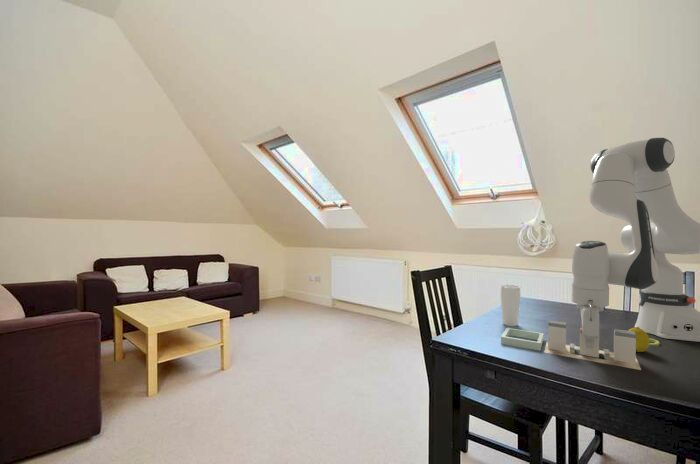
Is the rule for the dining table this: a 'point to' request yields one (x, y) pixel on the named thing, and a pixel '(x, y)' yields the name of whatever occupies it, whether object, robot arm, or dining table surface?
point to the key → (654, 342)
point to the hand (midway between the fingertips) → (589, 344)
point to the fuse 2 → (624, 346)
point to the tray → (521, 342)
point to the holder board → (611, 361)
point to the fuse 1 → (557, 335)
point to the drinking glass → (510, 304)
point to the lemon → (641, 339)
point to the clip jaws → (606, 351)
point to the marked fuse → (588, 351)
